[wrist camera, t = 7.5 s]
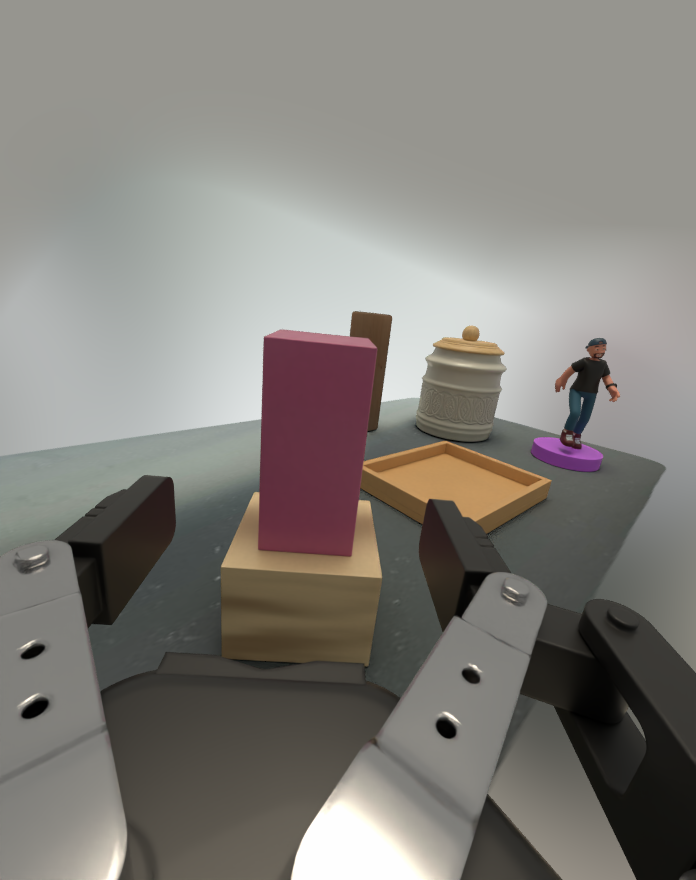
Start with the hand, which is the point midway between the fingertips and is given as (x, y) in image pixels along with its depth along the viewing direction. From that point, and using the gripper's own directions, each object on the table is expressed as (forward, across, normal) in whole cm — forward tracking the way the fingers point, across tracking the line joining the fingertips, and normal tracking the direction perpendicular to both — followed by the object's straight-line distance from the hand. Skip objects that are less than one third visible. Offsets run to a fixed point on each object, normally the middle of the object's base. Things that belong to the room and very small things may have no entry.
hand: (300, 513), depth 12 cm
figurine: (+43, -37, +12) cm, 58 cm away
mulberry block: (+9, 0, +6) cm, 11 cm away
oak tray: (+28, -15, +12) cm, 34 cm away
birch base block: (+9, 0, +12) cm, 15 cm away
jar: (+53, -22, +12) cm, 58 cm away
